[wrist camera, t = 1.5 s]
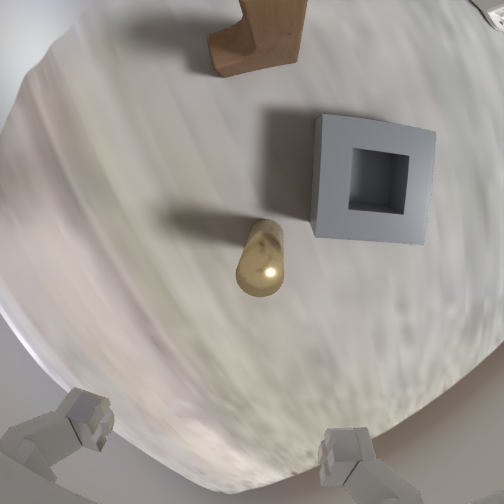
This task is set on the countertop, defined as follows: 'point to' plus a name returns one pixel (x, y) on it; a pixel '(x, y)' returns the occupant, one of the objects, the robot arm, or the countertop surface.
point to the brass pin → (262, 260)
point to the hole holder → (371, 180)
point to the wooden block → (259, 37)
